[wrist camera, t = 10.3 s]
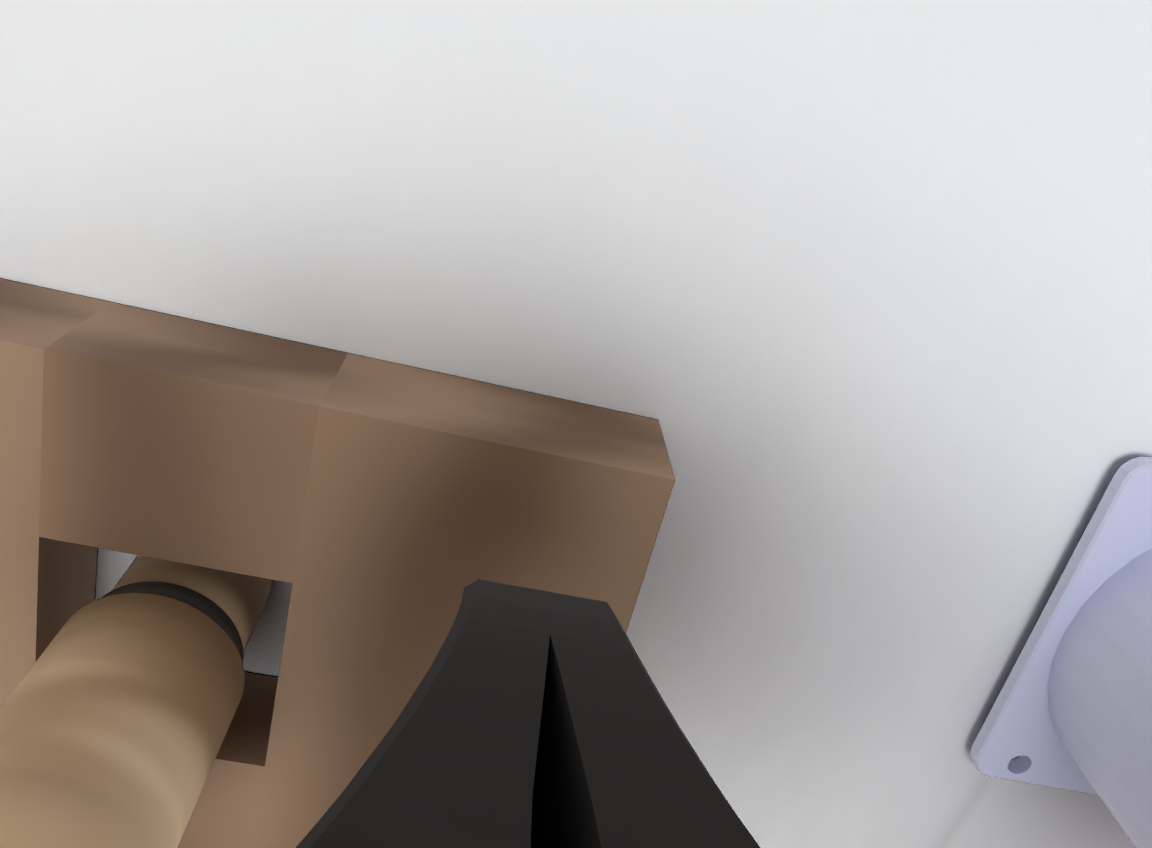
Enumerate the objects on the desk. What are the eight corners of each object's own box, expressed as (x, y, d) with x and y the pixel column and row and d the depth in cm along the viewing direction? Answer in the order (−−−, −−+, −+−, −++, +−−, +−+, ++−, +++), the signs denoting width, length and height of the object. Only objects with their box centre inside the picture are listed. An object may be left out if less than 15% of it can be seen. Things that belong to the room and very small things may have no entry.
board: (658, 419, 18) (675, 479, 16) (495, 953, 24) (490, 1053, 22) (-379, 197, 16) (-533, 229, 14) (-282, 845, 22) (-379, 944, 19)
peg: (300, 528, 19) (176, 797, 13) (271, 655, 20) (146, 959, 14) (134, 488, 18) (-83, 747, 12) (115, 621, 20) (-90, 920, 13)
